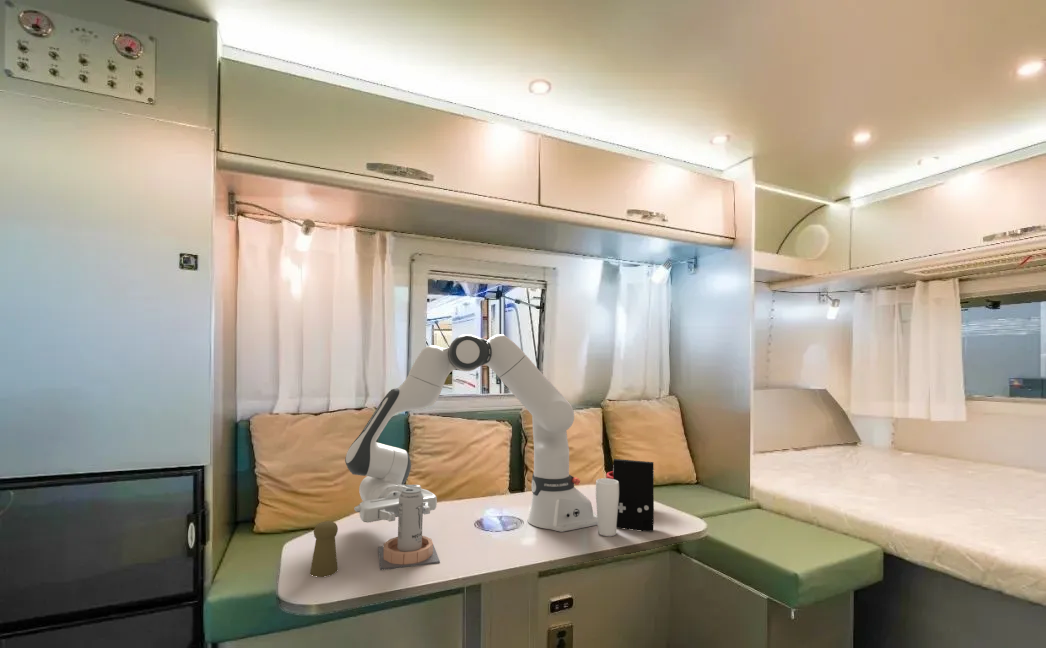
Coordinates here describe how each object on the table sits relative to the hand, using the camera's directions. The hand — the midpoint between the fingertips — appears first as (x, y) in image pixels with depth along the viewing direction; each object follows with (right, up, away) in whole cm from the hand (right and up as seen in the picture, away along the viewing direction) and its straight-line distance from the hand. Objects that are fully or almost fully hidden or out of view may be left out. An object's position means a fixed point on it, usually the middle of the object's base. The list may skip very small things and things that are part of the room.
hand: (410, 514), depth 121 cm
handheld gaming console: (+62, -13, +23) cm, 67 cm away
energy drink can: (0, -9, 0) cm, 9 cm away
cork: (-18, -10, -10) cm, 23 cm away
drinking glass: (+53, -13, +18) cm, 57 cm away
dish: (-1, -10, 0) cm, 10 cm away
